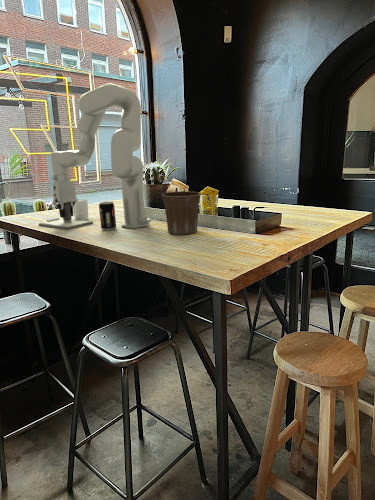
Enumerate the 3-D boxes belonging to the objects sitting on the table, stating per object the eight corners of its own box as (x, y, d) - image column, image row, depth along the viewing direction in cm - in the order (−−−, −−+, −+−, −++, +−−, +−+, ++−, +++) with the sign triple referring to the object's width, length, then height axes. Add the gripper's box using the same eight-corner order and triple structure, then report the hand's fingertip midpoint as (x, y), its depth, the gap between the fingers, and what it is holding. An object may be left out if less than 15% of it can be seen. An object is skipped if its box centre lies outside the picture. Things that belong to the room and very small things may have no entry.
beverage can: (113, 230, 163) (110, 203, 159) (98, 230, 164) (96, 203, 161) (118, 227, 169) (116, 201, 166) (105, 227, 170) (102, 201, 167)
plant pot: (206, 228, 160) (205, 190, 156) (197, 237, 145) (195, 196, 141) (170, 227, 165) (168, 191, 160) (158, 236, 150) (155, 196, 145)
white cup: (85, 220, 189) (83, 201, 186) (71, 220, 190) (68, 201, 187) (91, 217, 196) (89, 198, 193) (77, 217, 197) (75, 199, 195)
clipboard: (92, 223, 180) (92, 219, 180) (67, 229, 169) (66, 225, 168) (64, 220, 193) (64, 216, 192) (38, 225, 181) (38, 221, 180)
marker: (74, 221, 180) (70, 196, 177) (66, 222, 177) (63, 197, 174) (68, 220, 183) (65, 196, 180) (61, 222, 180) (57, 197, 176)
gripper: (51, 180, 166) (57, 220, 171) (81, 176, 179) (85, 214, 184) (41, 179, 170) (47, 219, 175) (71, 176, 183) (76, 213, 188)
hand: (66, 216), depth 179 cm, fingers closed on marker, 4 cm apart
